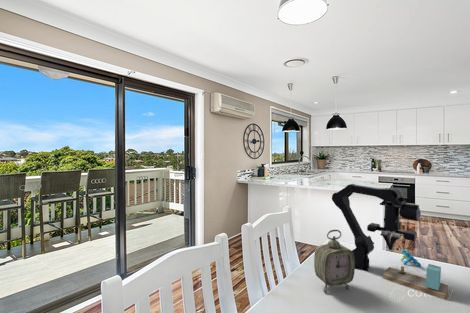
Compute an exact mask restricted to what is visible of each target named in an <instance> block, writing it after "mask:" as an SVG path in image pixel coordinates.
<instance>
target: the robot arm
mask: <svg viewBox="0 0 470 313" xmlns="http://www.w3.org/2000/svg"><path fill="white" fill-rule="evenodd" d="M354 193H355V194H359V195H363V196H364V195H366V196H371V197H376V198H377V199H381V200H382V202H380V203H379V205H380V206H384V213H383V215H384V218H383V226H381V224H380V223H374V222H370V223H369V224H368V225H367V228H366V229H367V230H366V231H367V232H373V233H375V232H377V231H379V232H380V236H381V237H383V239H384V241H385V242H386V246H387V248H388V250H390V251H392V250H393V249H394V248H393V247H394V246H395V243H396V241H397V240H400V239H401V238H402V237H403V238H404V240H407V241H411V242H416V240H418V233H417V232H416V231H413V230H409V229H406V230H404V231H403V230H402V224H403V223H402V221H400V218H402V219H403V220H408V221H410V220H411V221H413V222H419V221H420V219H421V214H422V213H421V208H420V205H419V204H412V203H411V204H410V203H407V201H406V200H405V198H404V197H403V196H402V192H401V191H400V189H399V188H396V187H385V188H383V187H382V188H378V187H371V186H367V185H359V184H354V183H351V184H350V183H349V184H347V185H346V186H345V187H344V188H342V189H340V190H339V191H338V192H334V193H332V195H331V201H332V202H333V203H334V205H335V206H336V207H337V208H338V209H339V210H340V211H341V214H342V215H343V217H344V219H345V221H346V223H347V225H348V227H349V229H350V231H351V233H352V235H353V237H354V245H355V248H354V249H352V250H351V251H353V253H354V257H355V269H357V270H362V271H366V272H367V271H369V268H370V257H369V254H370V253H372V252H373V251H374V249H375V245H374V244H375V242H374V241H373V240H372V237H371V235H368V236H367V235H366V234H365V233H364V231H363V229H362V228H361V225H360V224H359V222H358V220H357V217H356V215H355V213H354V212H353V210H352V208H351V204H350V203H351V202H350V198H349V197H351V196H352V195H353V194H354ZM401 230H402V231H401ZM391 234H392V235H391Z"/></svg>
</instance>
